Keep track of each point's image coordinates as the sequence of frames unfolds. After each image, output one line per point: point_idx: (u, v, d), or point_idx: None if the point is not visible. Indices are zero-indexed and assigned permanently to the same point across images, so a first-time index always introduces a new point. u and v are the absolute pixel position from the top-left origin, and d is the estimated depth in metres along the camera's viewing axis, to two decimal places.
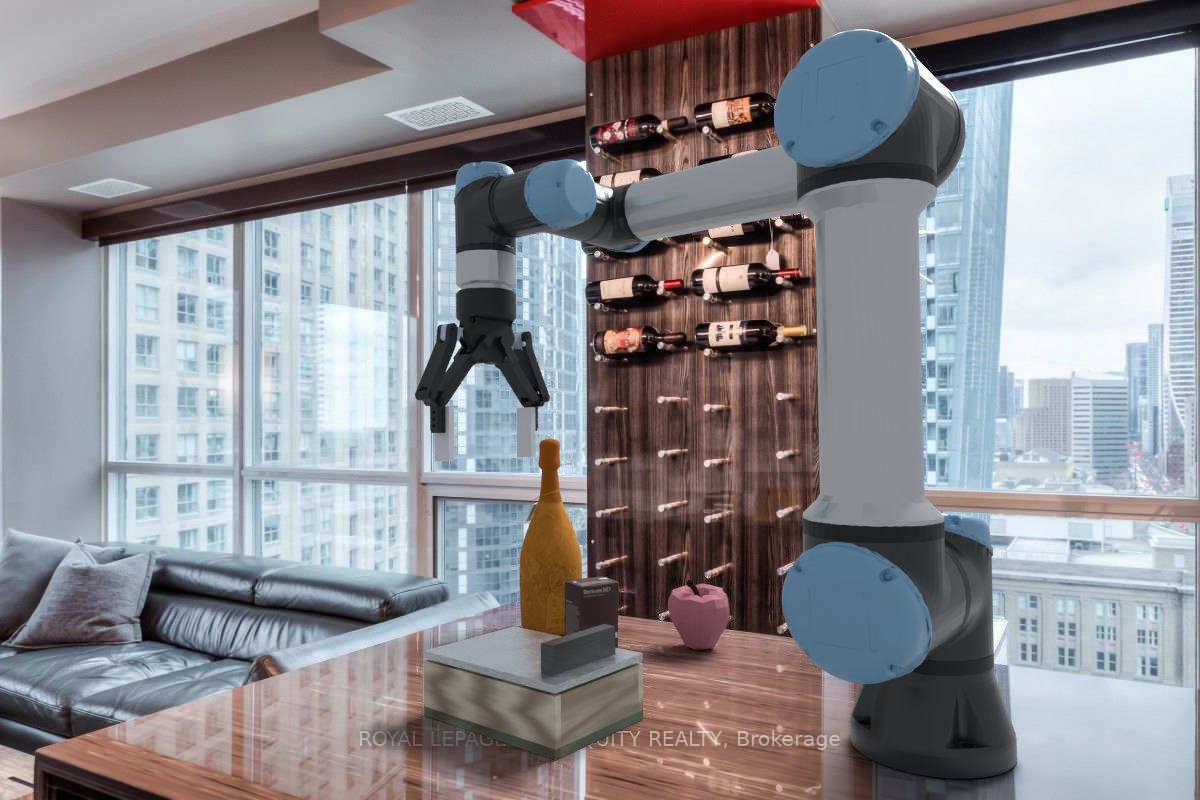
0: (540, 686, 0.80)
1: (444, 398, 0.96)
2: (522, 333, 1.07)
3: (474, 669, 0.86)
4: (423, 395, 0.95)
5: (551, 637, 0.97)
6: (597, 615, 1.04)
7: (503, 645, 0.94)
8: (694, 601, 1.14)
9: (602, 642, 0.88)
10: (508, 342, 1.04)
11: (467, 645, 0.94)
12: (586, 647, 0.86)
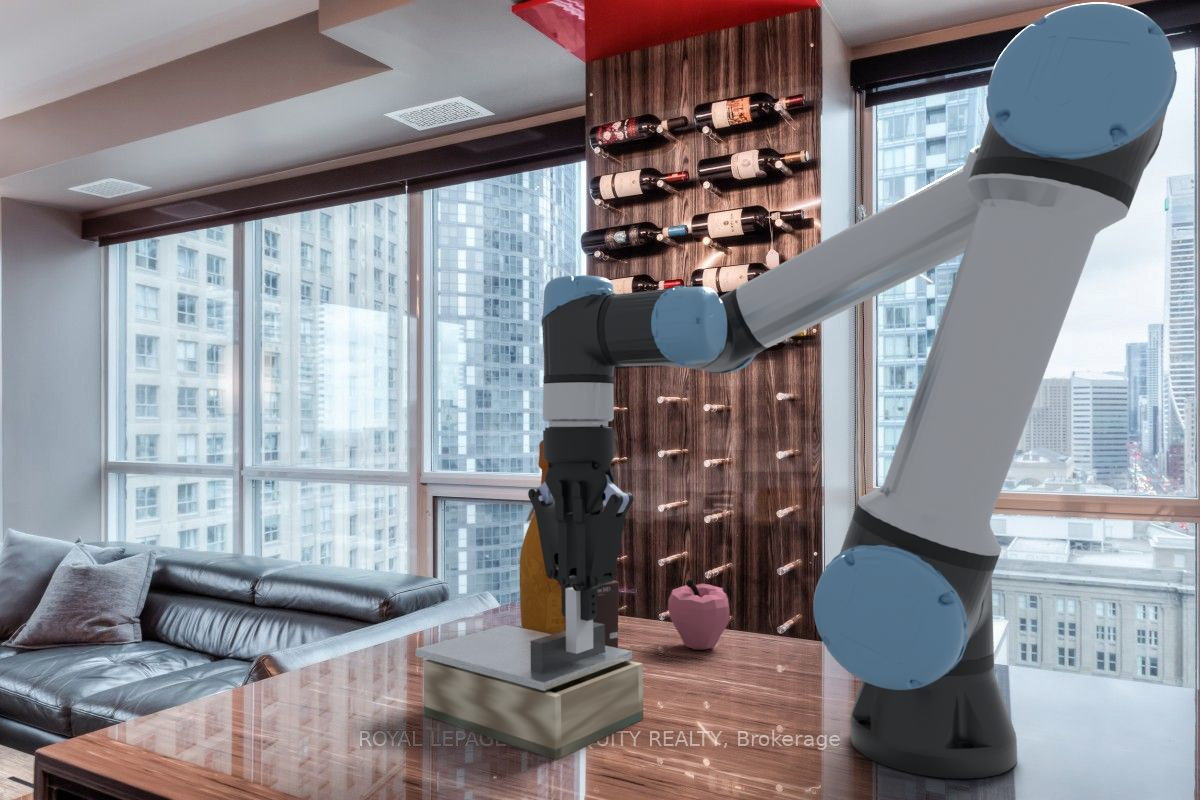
0: (529, 683, 0.81)
1: (560, 579, 0.87)
2: (616, 494, 0.83)
3: (465, 667, 0.87)
4: None
5: (542, 635, 0.98)
6: (597, 615, 1.04)
7: (495, 643, 0.95)
8: (694, 602, 1.14)
9: None
10: (578, 493, 0.84)
11: (458, 643, 0.95)
12: None
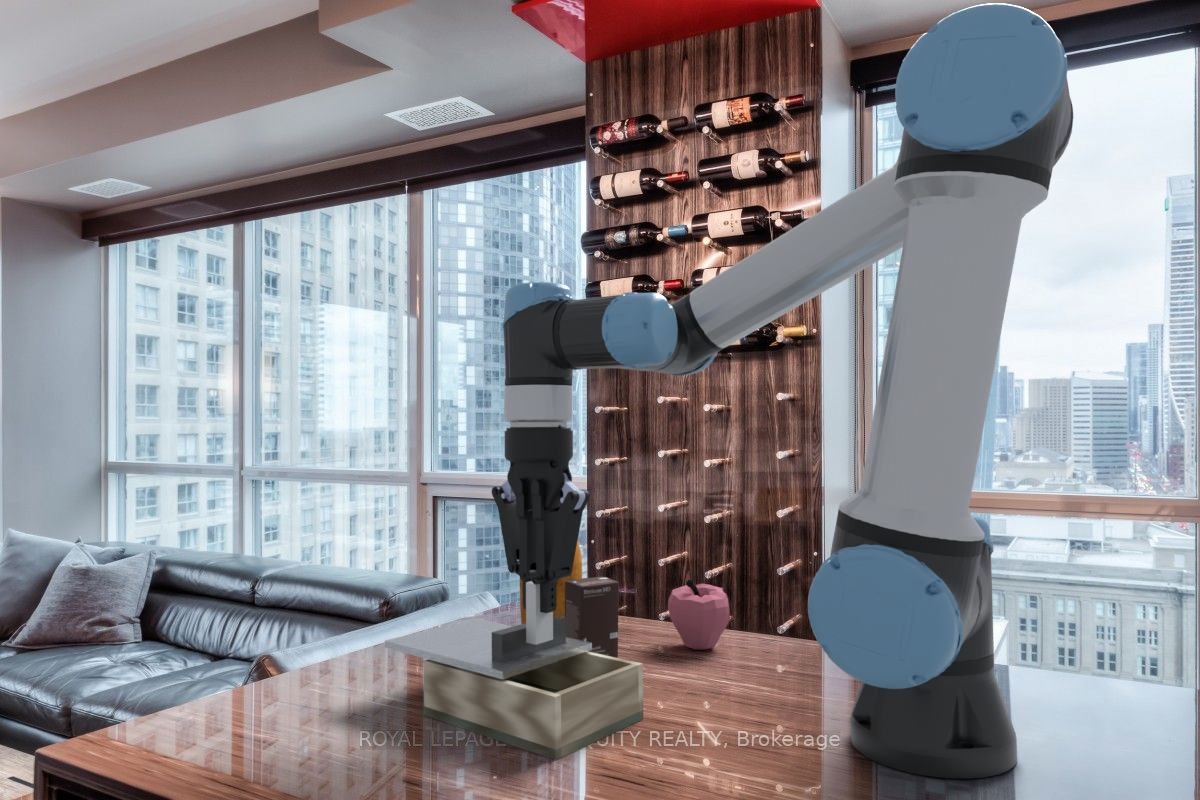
0: (489, 672, 0.85)
1: (521, 573, 0.90)
2: (573, 491, 0.87)
3: (430, 657, 0.91)
4: None
5: (508, 628, 1.02)
6: (597, 615, 1.04)
7: (461, 635, 0.99)
8: (694, 602, 1.14)
9: None
10: (537, 490, 0.88)
11: (426, 635, 0.99)
12: None
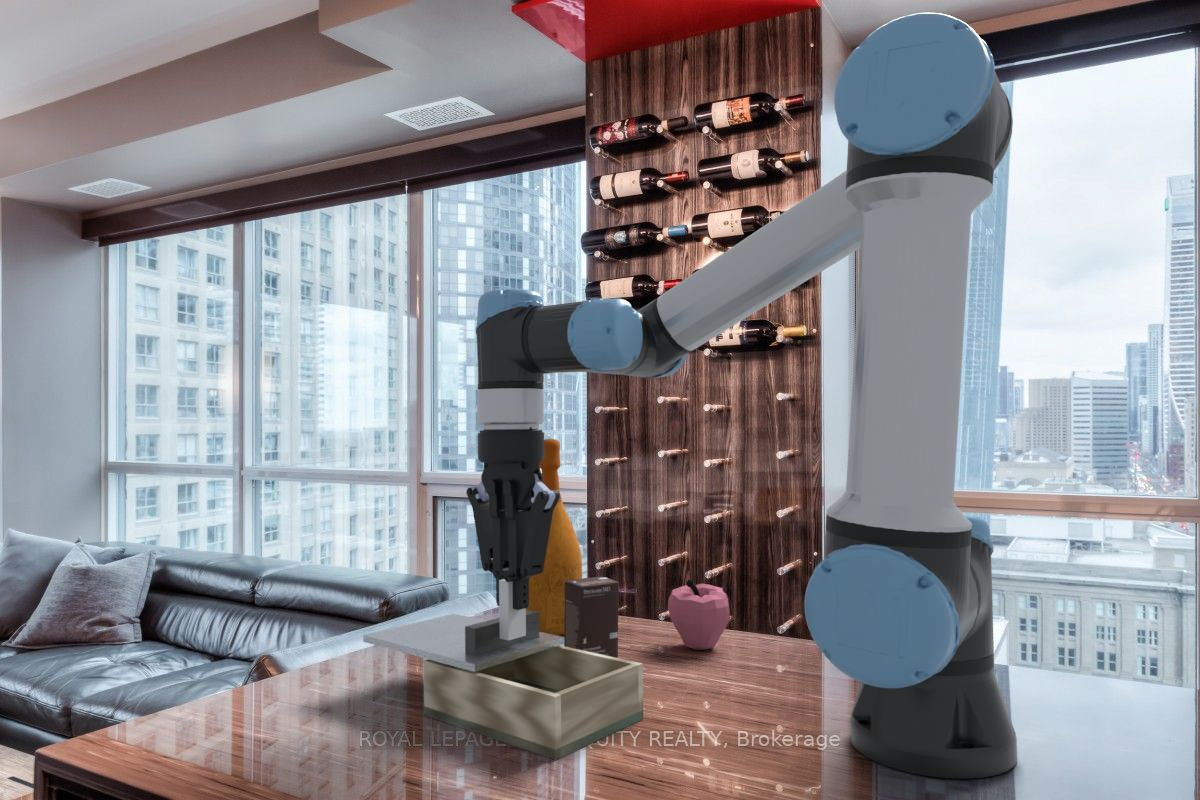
0: (462, 665, 0.88)
1: (495, 571, 0.93)
2: None
3: (406, 651, 0.94)
4: None
5: None
6: (597, 615, 1.04)
7: (438, 630, 1.01)
8: (694, 602, 1.14)
9: None
10: (509, 491, 0.91)
11: (405, 630, 1.02)
12: None
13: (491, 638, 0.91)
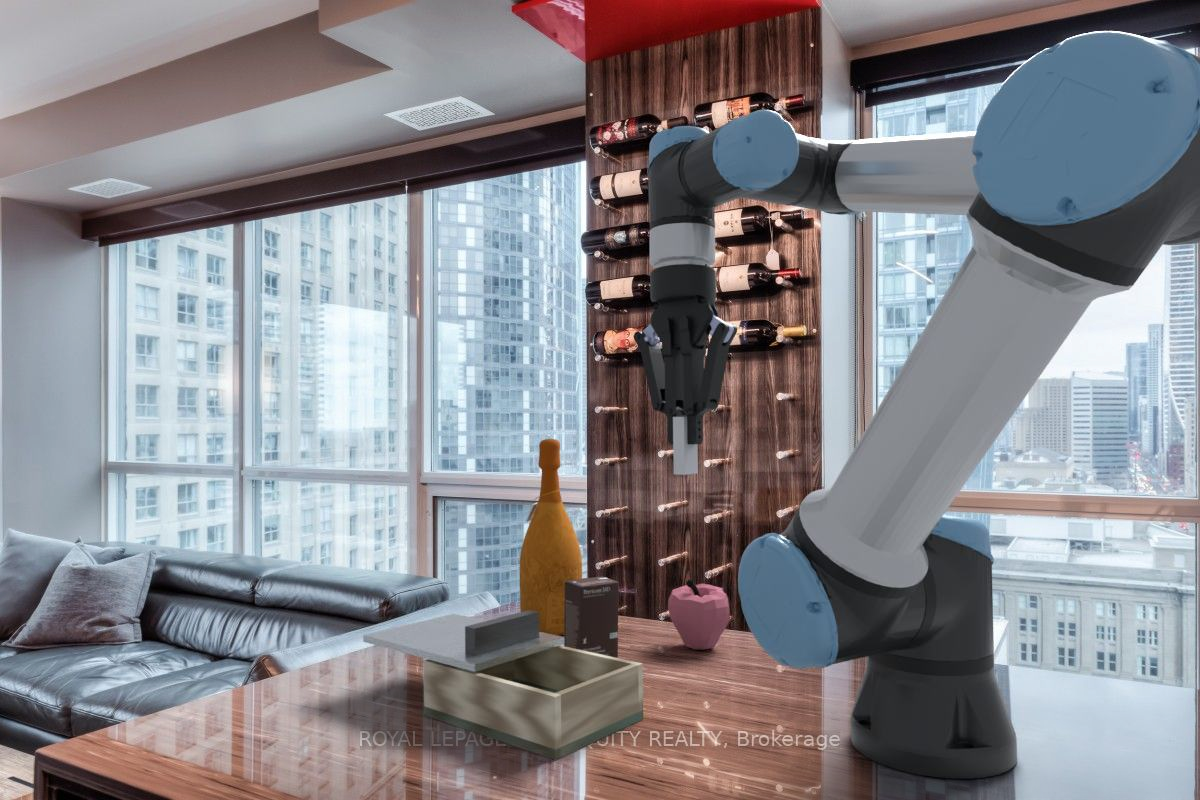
0: (462, 665, 0.88)
1: (667, 409, 0.94)
2: None
3: (406, 651, 0.94)
4: None
5: None
6: (597, 615, 1.04)
7: (438, 630, 1.01)
8: (694, 601, 1.14)
9: (525, 626, 0.95)
10: (686, 326, 0.92)
11: (405, 630, 1.02)
12: (509, 630, 0.93)
13: (491, 638, 0.91)
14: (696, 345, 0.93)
